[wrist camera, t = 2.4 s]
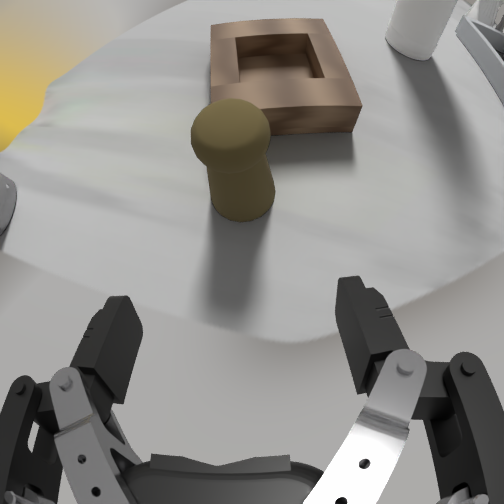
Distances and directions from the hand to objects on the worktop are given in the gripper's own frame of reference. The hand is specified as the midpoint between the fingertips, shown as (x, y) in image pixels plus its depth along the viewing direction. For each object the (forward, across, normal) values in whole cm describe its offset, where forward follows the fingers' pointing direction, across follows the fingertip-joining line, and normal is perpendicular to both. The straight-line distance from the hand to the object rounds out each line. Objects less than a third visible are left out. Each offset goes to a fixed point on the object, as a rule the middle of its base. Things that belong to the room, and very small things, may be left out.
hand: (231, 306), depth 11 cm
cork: (+18, 0, +2) cm, 18 cm away
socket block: (+28, -5, -8) cm, 29 cm away
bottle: (+35, -27, -15) cm, 47 cm away
